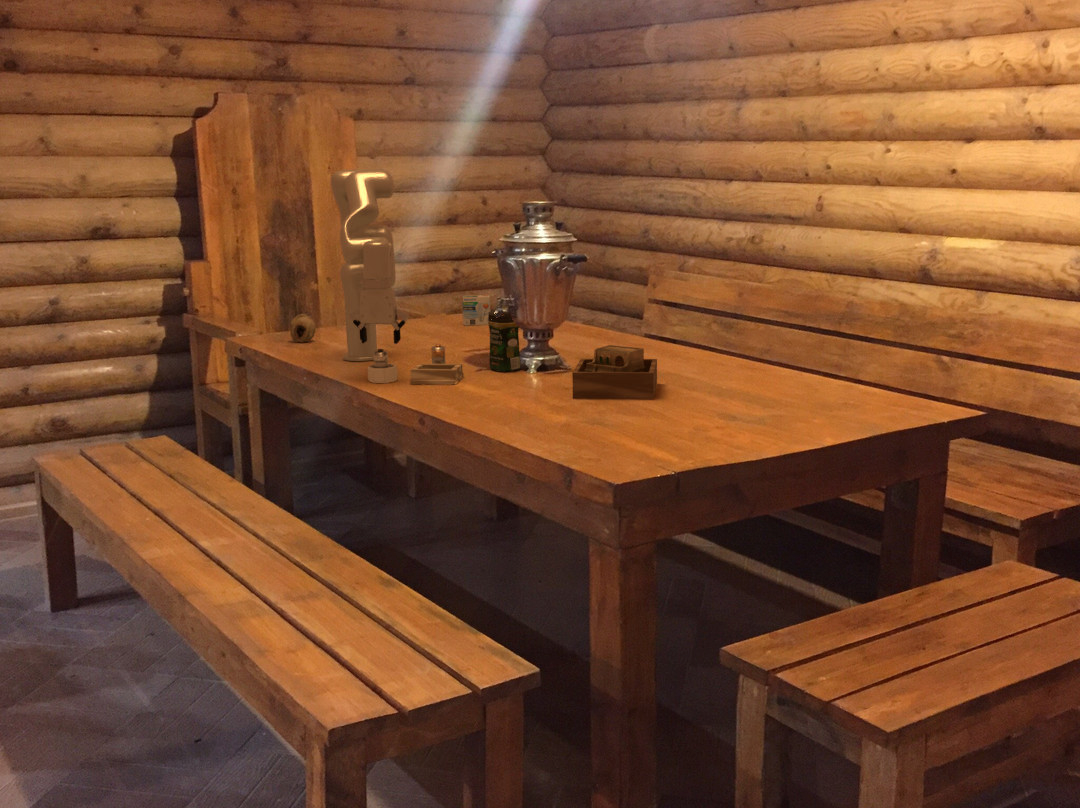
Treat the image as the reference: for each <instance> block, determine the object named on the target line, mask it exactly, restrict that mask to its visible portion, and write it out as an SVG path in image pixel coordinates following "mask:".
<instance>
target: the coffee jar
mask: <svg viewBox="0 0 1080 808" xmlns="http://www.w3.org/2000/svg"><path fill="white" fill-rule="evenodd" d="M496 309H497V308H493V309H492V308H491V309H490V312H489V314H488V324H489V325H488V329H489V358H488V359H489V363H488V365H489V368H490V370H493V371H496V372H500V371H503V372H502V373H506V372H505V371H509V372H510V371H514V372H516V371H518V370H520V369H521V368H520V364H521V355H520V352H521V351H520V342H519V341H520V340H519V338H520V337H519V327H520V325H519V326H517V325H516V324H515V322H514V321H513V320H512V317H511V315H510V314H509V313H506V314H504V315H503V316H501V317H498V318H496V317H495V314H496V313H495V314H494V312H495V310H496ZM491 319H492V320H491ZM515 370H516V371H515Z"/></svg>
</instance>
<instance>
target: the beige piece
mask: <svg viewBox="0 0 1080 808" xmlns="http://www.w3.org/2000/svg"><path fill="white" fill-rule="evenodd" d="M397 379H398V365H397V364H394V363H388V368H374V363H373V364H370V365H368V366H367V381H368V382H369V381H370V382H373V383H372V384H376V383H384V384H390V383H389V382H392V383H395V382H397V381H398V380H397ZM396 380H397V381H396ZM394 381H395V382H394ZM370 382H369V383H370Z"/></svg>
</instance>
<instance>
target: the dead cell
mask: <svg viewBox="0 0 1080 808" xmlns="http://www.w3.org/2000/svg"><path fill="white" fill-rule="evenodd" d="M373 364H374V368H388V364H389V353H388V350H384V349H383V348H377V351H374V360H373Z"/></svg>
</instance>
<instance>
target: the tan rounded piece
mask: <svg viewBox="0 0 1080 808" xmlns="http://www.w3.org/2000/svg"><path fill="white" fill-rule="evenodd" d="M290 324H291V325H290V328H289V331H290V336H291V340H292V341H294V342H296V343H302V344H303V343H309V342H311V340H312V339H313V338H314V337H315V334H316V328H317V327H316V323H315V322H314V320H313V319H312V316H310V315H307V314H306V313H301V314H298V315H296V316H295V317H293V319H292V320H291V322H290Z"/></svg>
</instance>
